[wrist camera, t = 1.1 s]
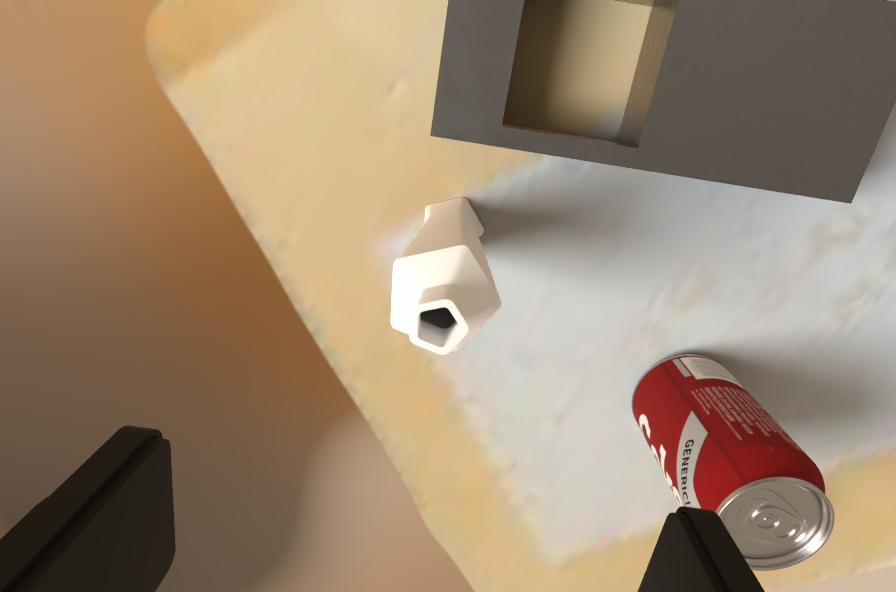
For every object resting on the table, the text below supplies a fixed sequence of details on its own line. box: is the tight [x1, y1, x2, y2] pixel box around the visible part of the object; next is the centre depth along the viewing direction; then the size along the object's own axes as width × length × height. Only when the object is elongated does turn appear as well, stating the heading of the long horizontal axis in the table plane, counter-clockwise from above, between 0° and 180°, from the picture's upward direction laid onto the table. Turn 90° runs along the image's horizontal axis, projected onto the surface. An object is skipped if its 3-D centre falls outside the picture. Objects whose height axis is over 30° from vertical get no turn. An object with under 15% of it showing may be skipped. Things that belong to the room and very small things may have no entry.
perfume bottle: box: [391, 197, 501, 355], centre depth 25 cm, size 5×4×15 cm
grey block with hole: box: [430, 0, 896, 203], centre depth 27 cm, size 22×9×4 cm, turn 81°
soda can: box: [632, 354, 834, 571], centre depth 30 cm, size 7×7×12 cm
